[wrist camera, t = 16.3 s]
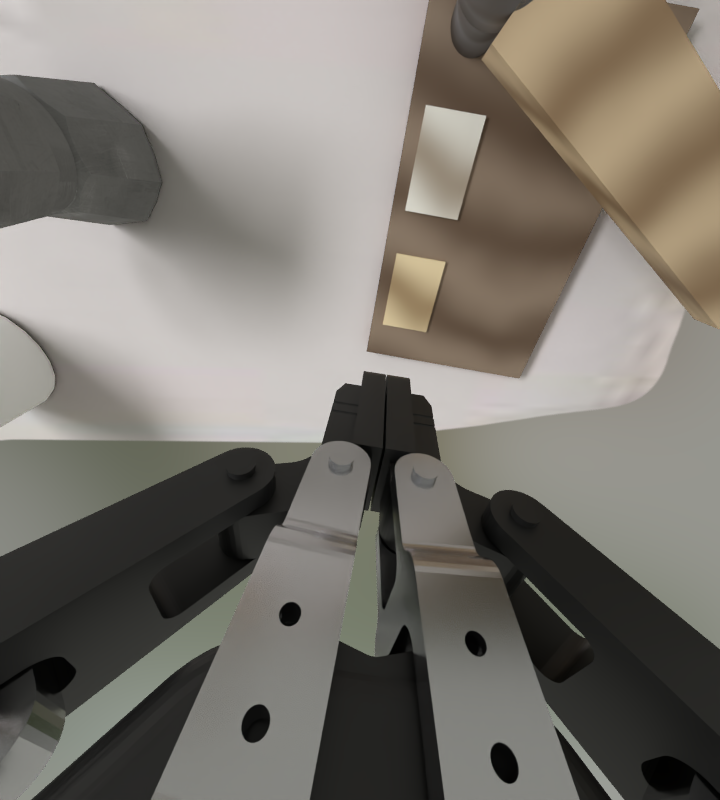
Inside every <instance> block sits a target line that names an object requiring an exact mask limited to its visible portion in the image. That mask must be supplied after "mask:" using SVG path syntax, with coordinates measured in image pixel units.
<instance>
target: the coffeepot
mask: <svg viewBox="0 0 720 800" xmlns="http://www.w3.org/2000/svg"><path fill="white" fill-rule="evenodd" d="M161 184H162V181H161V177H160V173H159V169H158V165H157V161H156V158H155V154H154V152H153V150H152V147H151V145H150V142H149V140H148V139H147V137H146V135H145V132H144V129H143V126H142V124H141V123H140V122H138V121H137V120H136V119H135V118H134V117H133V116H132V115H131V114H130V113H129V112H128V111H127V110H126V109H125V108H124V107H123V106H122V105H120V104H119V103H118V102H116V101H115V100H114V99H112V98H111V97H110V96H108V95H107V94H106V93H105V92H104V91H103V90H102V89H100V88H99V87H98V86H97V85H96V84H95V83H89V82H79V81H69V80H60V79H50V78H40V77H30V76H21V75H0V228H3V227H7V226H11V225H15V224H19V223H23V222H27V221H31V220H34V219H38V218H42V217H46V216H48V217H56V218H63V219H70V220H78V221H85V222H92V223H100V224H107V225H113V224H123V223H133V222H144V221H147V220H148V218H149V216H150V214H151V212H152V210H153V208H154V206H155V204H156V202H157V198H158V195H159V189H160V186H161Z"/></svg>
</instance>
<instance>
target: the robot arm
mask: <svg viewBox="0 0 720 800" xmlns="http://www.w3.org/2000/svg"><path fill="white" fill-rule="evenodd" d="M434 426H435V425H434V419H433V413H432V407H431V405H430V404H429V402H428V401H427V400H426V399H425V397H424V396H422V395H415V394H411V387H410V379H409V378H404V377H398V376H392V375H387V377H386V375H385V374H379V373H372V372H366V371H364V374H363V380H362V386H358V385H352V384H346V383H345V384H344V385H343V386H342V387H341V388H340V389H338V390H337V392H336V395H335V399H334V403H333V406H332V410H331V413H330V417H329V420H328V424H327V427H326V431H325V434H324V438H323V441H322V444H321V446H319V447H318V448H317V449H316V450H315V451H314V453H313V454H312V456H311V457H309V458H307V459H304V460H301V461H298V462H292V463H281V464H275V463H274V461H273V459H272V458H271V456H269V455H268V454H267V453H266V452H264V451H262V450H259V449H255V448H237V449H233V450H229V451H227V452H224V453H223V454H220V455H218V456H216V457H214V458H212V459H210V460H207V461H205V462H203V463H201V464H199V465H197V466H194V467H192V468H190V469H188V470H186V471H184V472H181V473H179V474H177V475H175V476H173V477H171V478H169V479H167V480H164V481H162V482H160V483H158V484H156V485H154V486H151V487H149V488H147V489H145V490H143V491H141V492H138V493H136V494H134V495H132V496H130V497H128V498H126V499H123V500H121V501H119V502H117V503H115V504H113V505H111V506H108V507H106V508H104V509H102V510H100V511H98V512H95V513H94V514H91V515H89V516H87V517H85V518H83V519H80V520H79V521H76V522H74V523H72V524H70V525H68V526H66V527H63V528H61V529H59V530H57V531H55V532H52V533H50V534H48V535H46V536H44V537H42V538H40V539H38V540H35V541H33V542H31V543H29V544H27V545H25V546H23V547H20V548H18V549H16V550H14V551H12V552H10V553H7V554H5V555H3V556H1V557H0V800H16V799H17V798H18V797H19V796H20V795H21V794H22V793H23V792H24V791H25V790H27V788H28V787H29V786H30V785H31V784H32V782H33V781H34V780H35V779H36V778H37V777H38V775H39V774H40V773H41V771H42V770H43V768H44V767H45V766H46V764H47V763H48V761H49V759H50V758H51V756H52V754H53V753H54V750H55V748H56V746H57V744H58V742H59V740H60V737H61V734H62V731H63V727H64V723H65V717H66V716H67V715H69V714H70V713H71V712H73V711H74V710H75V709H77V708H78V707H79V706H80V705H82V704H83V703H84V702H86V701H87V700H88V699H90V698H91V697H92V696H93V695H95V694H96V693H97V692H99V691H100V690H101V689H103V688H104V687H105V686H106V685H108V684H109V683H110V682H111V681H113V680H114V679H116V678H117V677H118V676H119V675H121V674H122V673H123V672H125V671H126V670H127V669H128V668H130V667H131V666H132V665H134V664H135V663H136V662H137V661H139V660H140V659H141V658H143V657H144V656H145V655H147V654H148V653H149V652H151V651H152V650H153V649H154V648H156V647H157V646H158V645H160V644H161V643H162V642H163V641H165V640H166V639H167V638H169V637H170V636H171V635H173V634H174V633H175V632H177V631H178V630H179V629H180V628H182V627H183V626H184V625H186V624H187V623H188V622H190V621H191V620H192V619H193V618H195V617H196V616H197V615H199V614H200V613H201V612H202V611H204V610H205V609H206V608H208V607H209V606H210V605H212V604H213V603H214V602H215V601H217V600H218V599H219V598H221V597H222V596H223V595H224V594H226V593H227V592H228V591H230V590H231V589H232V588H234V587H235V586H236V585H238V584H239V583H240V582H241V581H243V580H244V579H245V578H246V577H248V576H249V575H250V574H252V575H251V577H250V579H249V582H248V584H247V586H246V588H245V590H244V593H243V595H242V597H241V599H240V602H239V604H238V606H237V608H236V611H235V613H234V615H233V617H232V620H231V622H230V624H229V627H228V628H227V631H226V633H225V636H224V638H223V640H222V642H221V644H220V645H219V646H217V647H215V648H212V649H210V650H208V651H206V652H205V653H203V654H201V655H200V656H198V657H196V658H194V659H193V660H191V661H190V662H188V663H187V664H186V665H184V666H183V667H182V668H180V669H179V670H177V671H176V672H175V673H174V674H172V675H171V676H170V677H169V678H168V679H166V680H165V681H164V682H163V683H162V684H161V685H160V686H158V687H157V688H156V689H155V690H154V691H153V692H152V693H151V694H149V695H148V696H147V697H146V698H145V699H144V700H143V701H142V702H141V703H139V704H138V705H137V706H136V707H135V708H134V709H133V710H132V711H130V712H129V713H128V714H127V715H126V716H125V717H124V718H123V719H121V720H120V721H119V722H118V723H117V724H116V725H115V726H114V727H113V728H112V729H110V730H109V731H108V732H107V733H106V734H105V735H103V736H102V737H101V738H100V739H99V740H98V741H97V742H96V743H95V744H93V745H92V746H91V747H90V748H89V749H88V750H87V751H86V752H84V754H82V755H81V756H80V757H79V758H78V759H77V760H76V761H74V762H73V763H72V764H71V765H70V766H69V767H68V768H66V769H65V770H64V771H63V772H62V773H61V774H60V775H59V776H57V777H56V778H55V779H54V780H53V781H52V782H51V783H50V784H49V785H47V786H46V787H45V788H44V789H43V790H42V791H41V792H39V793H38V794H37V795H36V796H35V797H34V798H33V799H32V800H611V798H610V797H609V796H608V794H607V793H606V792H605V791H604V789H603V788H602V786H601V785H600V784H599V782H598V781H597V780H596V778H595V777H594V776H593V775H592V773H591V772H590V770H589V769H588V768H587V766H586V765H585V764H584V763H583V761H582V760H581V758H580V757H579V756H578V754H577V753H576V752H575V751H574V749H573V748H572V746H571V745H570V744H569V743H568V741H567V740H566V739H565V738H564V736H563V735H562V734H561V733H560V732H559V730H558V729H557V728H556V727H555V726H554V725H553V722H552V719H551V716H550V713H549V711H548V707H547V705H546V702H547V704H548V705H549V706H550V707H551V709H552V710H553V711H554V712H555V714H556V715H557V716H558V717H559V718H560V720H561V721H562V722H563V724H564V725H565V726H566V727H567V729H568V730H569V731H570V732H571V734H572V735H573V736H574V737H575V738H576V740H577V741H578V742H579V744H580V745H581V746H582V747H583V749H584V750H585V751H586V752H587V754H588V755H589V756H590V757H591V758H592V760H593V761H594V762H595V763H596V765H597V766H598V767H599V768H600V770H601V771H602V772H603V773H604V775H605V776H606V777H607V778H608V780H609V781H610V782H611V783H612V785H613V786H614V787H615V788H616V789H617V791H618V792H619V793H620V795H621V796H622V797H623V798H624V800H720V649H719V648H717V647H716V646H715V645H714V644H713V643H711V642H710V641H709V640H708V639H706V638H705V637H704V636H702V634H700V633H699V632H698V631H697V630H695V629H694V628H693V627H692V626H691V625H689V624H688V623H687V622H686V621H684V620H683V619H682V618H681V617H679V616H678V615H677V614H676V613H675V612H673V611H672V610H671V609H670V608H668V607H667V606H666V605H665V604H664V603H662V602H661V601H660V600H659V599H657V598H656V597H655V596H653V595H652V594H651V593H650V592H649V591H648V590H646V589H645V588H644V587H643V586H641V585H640V584H639V583H638V582H637V581H635V580H634V579H633V578H632V577H630V576H629V575H628V574H627V573H625V572H624V571H623V570H622V569H621V568H619V567H618V566H617V565H616V564H614V563H613V562H612V561H611V560H609V559H608V558H607V557H606V556H605V555H603V554H602V553H601V552H600V551H599V550H597V549H596V548H595V547H594V546H592V545H591V544H590V543H589V542H587V541H586V540H585V539H584V538H583V537H581V536H580V535H579V534H578V533H577V532H575V531H574V530H573V529H572V528H570V527H569V526H568V525H567V524H565V523H564V522H563V521H562V520H561V519H559V518H558V517H557V516H556V515H554V514H553V513H552V512H551V511H550V510H548V509H547V508H546V507H545V506H543V505H542V504H541V503H539V502H538V501H537V500H535V499H534V498H532V497H530V496H528V495H526V494H524V493H521V492H518V491H512V490H504V491H499V492H497V493H496V494H495V495H493V497H492V498H491V500H490V499H488V498H485V497H483V496H481V495H478V494H476V493H474V492H471V491H469V490H467V489H465V488H463V487H461V486H460V485H458V484H457V483H455V481H454V478H453V475H452V473H451V471H450V470H449V469H448V467H447V466H446V465H445V464H444V463H442V462H441V460H440V454H439V448H438V442H437V436H436V430H435V428H434ZM371 496H372V499H371ZM370 501H371V511H375V512H380V516H379V527H378V531H377V534H376V570H377V603H378V620H377V630H376V638H375V657H373V656H369V655H366V654H364V653H362V652H360V651H358V650H356V649H354V648H352V647H350V646H348V645H346V644H344V643H342V642H340V641H339V638H340V632H341V628H342V622H343V617H344V611H345V606H346V601H347V595H348V590H349V584H350V579H351V574H352V568H353V563H354V557H355V552H356V546H357V538H358V532H359V530H360V527H361V522H362V518H363V513H364V510H368V509H369V505H370ZM526 577H527V578H528V579H529V580H530V581H531V582H532V583H533V584H534V585H535V587H536V588H538V590H539V591H540V592H542V594H543V595H544V596H545V597H546V598H547V599H549V601H550V602H551V603H552V604H553V605H554V606H555V607H556V608H557V609H558V610H559V611H560V612H561V613H562V614H563V615H564V616H565V617H566V618H567V619H568V620H569V621H570V622H571V623H572V624H573V625H574V626H575V627H576V628H577V629H578V630H579V631H580V632H581V633H582V634H583V635H584V637H585V638H583V637H581V636H579V635H578V634H577V633H575V632H574V631H573V630H572V629H571V628H570V627H569V626H568V625H567V624H566V623H565V622H564V621H563V620H562V619H561V618H560V617H559V616H558V615H557V614H556V613H555V612H554V611H553V610H552V609H551V608H550V607H549V606H548V605H547V604H546V603H545V602H544V600H543V599H542V598H541V597H540V596H539V595H538V594H537V593H536V592H535V591H534V590H533V589H532V588H531V587H530V586H529V585H528V584H527V583H526V582H525V581H524V579H525V578H526ZM545 701H546V702H545Z"/></svg>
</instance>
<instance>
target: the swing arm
mask: <svg viewBox="0 0 720 800" xmlns="http://www.w3.org/2000/svg"><path fill="white" fill-rule="evenodd" d="M459 4H460V7H461V10H462V12H463V14H464V16H465V18H466V19H467V21H468V22H469V23H470V24H471V25H472V26H473V27H474V28H476V29H477V30H479V31H481V32H485V33H498V32H499V34H498V35H497V36H496V38H495V39H494V41H493V42H492V44H491V45H490V47H489V48H488V50H487V52H486V53H485V55H484V56H483V58H482V59H481V60H482V61H483V62H484V64H485V65H486V66H487V67H488V68H489V70H490V71H491V72H492V73H493V75H494V76H495V77H496V78H497V79H498V81H499V82H500V83H501V84H502V85H503V87H504V88H505V89H506V90H507V92H508V93H509V94H510V95H511V96H512V98H513V99H514V100H515V101H516V103H517V104H518V105H519V106H520V107H521V109H522V110H523V111H524V112H525V114H526V115H527V116H528V117H529V118H530V120H531V121H532V122H533V123H534V125H535V126H536V127H537V128H538V129H539V131H540V132H541V133H542V134H543V135H544V137H545V138H546V139H547V140H548V142H549V143H550V144H551V145H552V146H553V148H554V149H555V150H556V151H557V153H558V154H559V155H560V156H561V157H562V159H563V160H564V161H565V162H566V164H567V165H568V166H569V167H570V168H571V170H572V171H573V172H574V173H575V175H576V176H577V177H578V178H579V179H580V181H581V182H582V183H583V184H584V186H585V187H586V188H587V189H588V190H589V192H590V193H591V194H592V195H593V196H594V198H595V199H596V200H597V201H598V203H599V204H600V205H601V206H602V207H603V209H604V210H605V211H606V212H607V214H608V215H609V216H610V217H611V218H612V220H613V221H614V222H615V223H616V225H617V226H618V227H619V228H620V229H621V231H622V232H623V233H624V234H625V236H626V237H627V238H628V239H629V240H630V242H631V243H632V244H633V245H634V246H635V248H636V249H637V250H638V251H639V253H640V254H641V255H642V256H643V257H644V259H645V260H646V261H647V262H648V264H649V265H650V266H651V267H652V268H653V270H654V271H655V272H656V273H657V275H658V276H659V277H660V278H661V279H662V281H663V282H664V283H665V284H666V286H667V287H668V288H669V289H670V290H671V292H672V293H673V294H674V295H675V296H676V298H677V299H678V300H679V301H680V303H681V304H682V305H683V306H684V307H685V309H686V310H687V311H688V312H689V313H690V315H691V316H692V317H693V318H694V319H695V320H698V321H700V322H703V323H705V324H707V325H710V326H713V327H715V328H717V329H720V90H719V89H718V87H717V85H716V84H715V82H714V80H713V79H712V77H711V75H710V74H709V72H708V70H707V69H706V67H705V65H704V64H703V62H702V60H701V59H700V57H699V55H698V54H697V52H696V50H695V49H694V47H693V45H692V44H691V42H690V40H689V39H688V37H687V35H686V34H685V32H684V30H683V29H682V27H681V25H680V24H679V22H678V20H677V19H676V17H675V15H674V14H673V12H672V10H671V9H670V7H669V5H668V4H667V2H666V0H459Z"/></svg>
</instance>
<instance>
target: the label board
mask: <svg viewBox="0 0 720 800" xmlns="http://www.w3.org/2000/svg"><path fill="white" fill-rule="evenodd" d="M667 4H668V5H669V7H670V9H671V10H672V12H673V14H674V15H675V17H676V19H677V20H678V22H679V24H680V25H681V27H682V29H683V30H684V32H685V34H686V35H687V33H688V31H689V29H690V27H691V25H692V23H693V21H694V19H695V17H696V15H697V13H698V11H699V9H698V8H693V7H687V6H682V5H677V4H671V3H667ZM498 34H499V32H498V33H485V32H481V31H479V30H477V29H476V28H474V27H473V26H472V25H471V24H470V23H469V22H468V21H467V19H466V18H465V16H464V14H463V12H462V10H461V7H460V4H459V0H429V3H428V9H427V15H426V20H425V26H424V31H423V37H422V43H421V48H420V54H419V60H418V65H417V71H416V77H415V82H414V88H413V94H412V99H411V105H410V110H409V116H408V122H407V127H406V133H405V139H404V144H403V150H402V156H401V161H400V167H399V173H398V178H397V184H396V189H395V195H394V201H393V206H392V212H391V218H390V223H389V229H388V235H387V240H386V246H385V252H384V257H383V263H382V269H381V274H380V280H379V285H378V291H377V297H376V302H375V308H374V314H373V319H372V325H371V331H370V336H369V342H368V348H367V351H368V352H373V353H379V354H385V355H390V356H396V357H402V358H407V359H413V360H418V361H424V362H430V363H435V364H441V365H447V366H452V367H458V368H463V369H469V370H475V371H480V372H486V373H492V374H497V375H503V376H508V377H514V378H520V376H521V374H522V372H523V370H524V368H525V366H526V363H527V361H528V359H529V357H530V355H531V353H532V351H533V349H534V347H535V345H536V343H537V341H538V339H539V337H540V335H541V333H542V331H543V329H544V327H545V325H546V322H547V320H548V318H549V316H550V314H551V312H552V310H553V308H554V306H555V304H556V302H557V300H558V298H559V296H560V294H561V292H562V290H563V288H564V286H565V283H566V281H567V279H568V277H569V275H570V273H571V271H572V269H573V267H574V265H575V263H576V261H577V259H578V257H579V255H580V253H581V251H582V249H583V247H584V245H585V242H586V240H587V238H588V236H589V234H590V232H591V230H592V228H593V226H594V224H595V222H596V220H597V218H598V216H599V214H600V212H601V210H602V208H603V207H602V206H601V205H600V204H599V203H598V201H597V200H596V199H595V198H594V196H593V195H592V194H591V193H590V192H589V190H588V189H587V188H586V187H585V186H584V184H583V183H582V182H581V181H580V179H579V178H578V177H577V176H576V175H575V173H574V172H573V171H572V170H571V168H570V167H569V166H568V165H567V164H566V162H565V161H564V160H563V159H562V157H561V156H560V155H559V154H558V153H557V151H556V150H555V149H554V148H553V146H552V145H551V144H550V143H549V142H548V140H547V139H546V138H545V137H544V135H543V134H542V133H541V132H540V131H539V129H538V128H537V127H536V126H535V125H534V123H533V122H532V121H531V120H530V118H529V117H528V116H527V115H526V114H525V112H524V111H523V110H522V109H521V107H520V106H519V105H518V104H517V103H516V101H515V100H514V99H513V98H512V96H511V95H510V94H509V93H508V92H507V90H506V89H505V88H504V87H503V85H502V84H501V83H500V82H499V81H498V79H497V78H496V77H495V76H494V75H493V73H492V72H491V71H490V70H489V68H488V67H487V66H486V65H485V64H484V62H483V61H482V60H481V59H482V58H483V56H484V55H485V53H486V52H487V50H488V48H489V47H490V45H491V44H492V42H493V41H494V39H495V38H496V36H497V35H498Z"/></svg>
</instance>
